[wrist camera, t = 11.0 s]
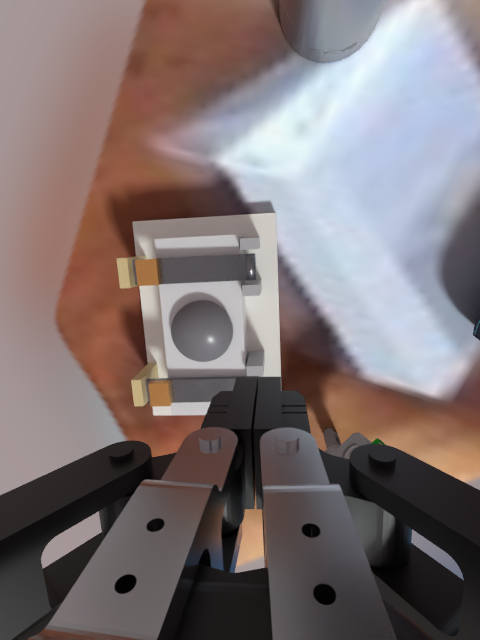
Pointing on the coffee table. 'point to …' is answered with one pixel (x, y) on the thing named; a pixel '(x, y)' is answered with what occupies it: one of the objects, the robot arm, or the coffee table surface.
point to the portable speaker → (477, 328)
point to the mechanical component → (345, 443)
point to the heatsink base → (255, 303)
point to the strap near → (194, 269)
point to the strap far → (187, 389)
